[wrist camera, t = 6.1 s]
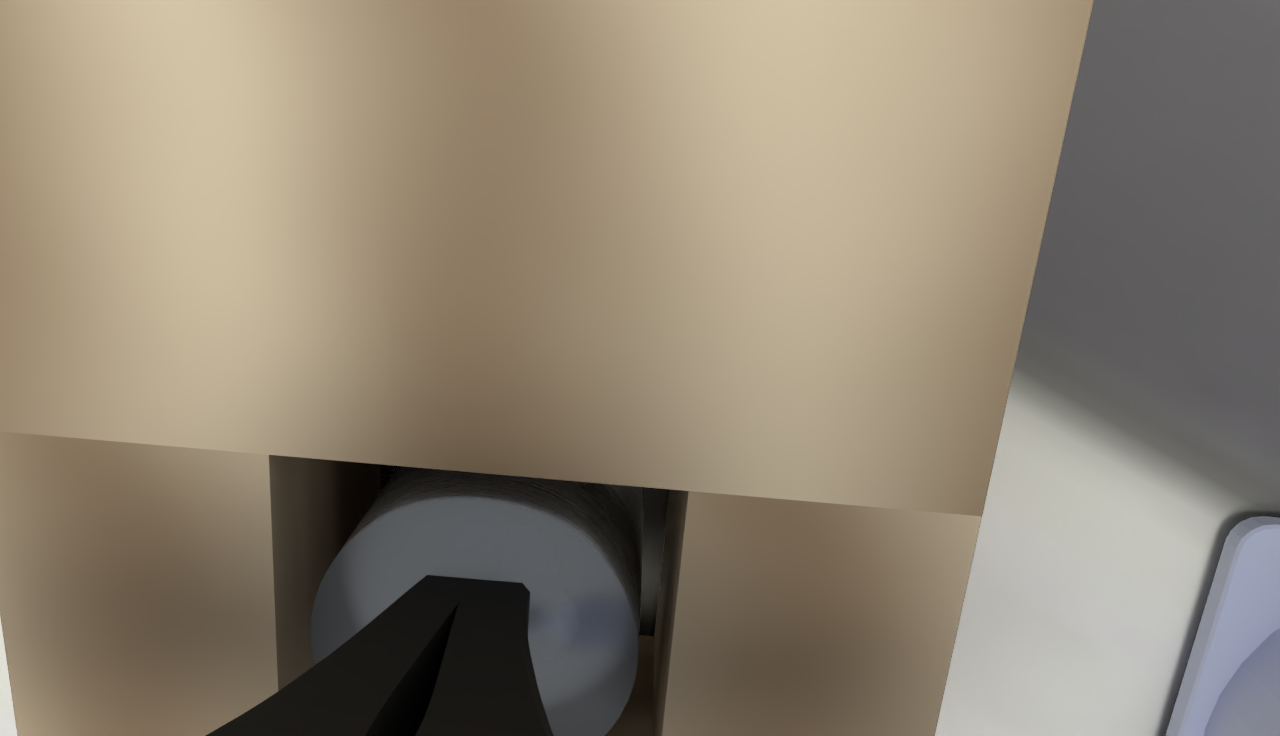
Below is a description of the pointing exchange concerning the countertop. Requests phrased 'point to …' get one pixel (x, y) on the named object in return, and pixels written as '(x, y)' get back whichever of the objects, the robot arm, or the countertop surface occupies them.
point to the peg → (508, 574)
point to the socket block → (512, 324)
